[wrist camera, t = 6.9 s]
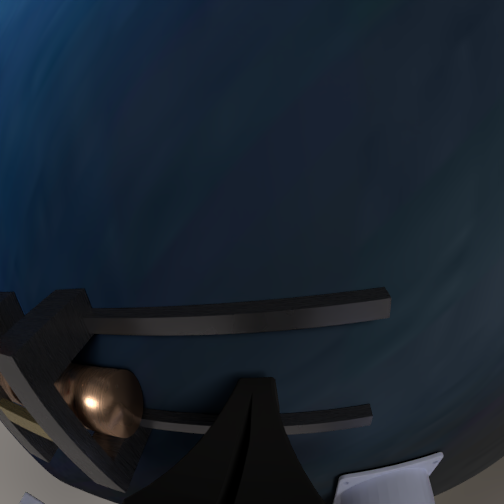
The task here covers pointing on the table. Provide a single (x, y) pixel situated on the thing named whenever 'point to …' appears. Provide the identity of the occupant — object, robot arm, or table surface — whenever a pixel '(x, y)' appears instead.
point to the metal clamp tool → (144, 323)
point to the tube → (98, 398)
